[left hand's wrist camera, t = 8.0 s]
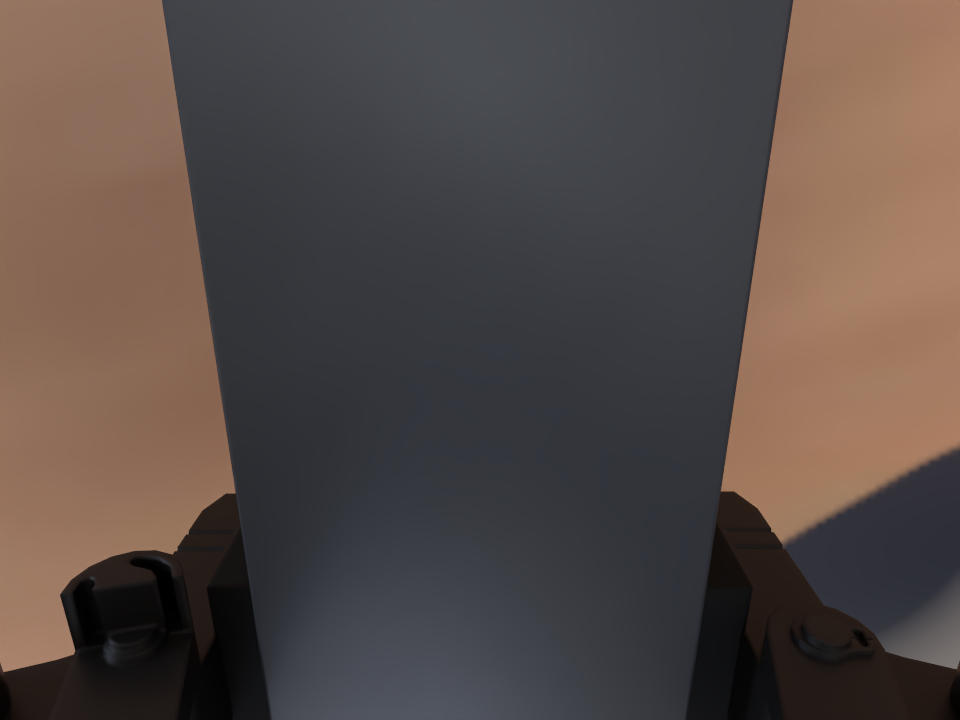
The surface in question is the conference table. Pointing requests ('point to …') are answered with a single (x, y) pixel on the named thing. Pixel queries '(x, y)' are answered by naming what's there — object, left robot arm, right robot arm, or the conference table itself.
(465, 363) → the bar
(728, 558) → the left robot arm
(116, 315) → the conference table surface
